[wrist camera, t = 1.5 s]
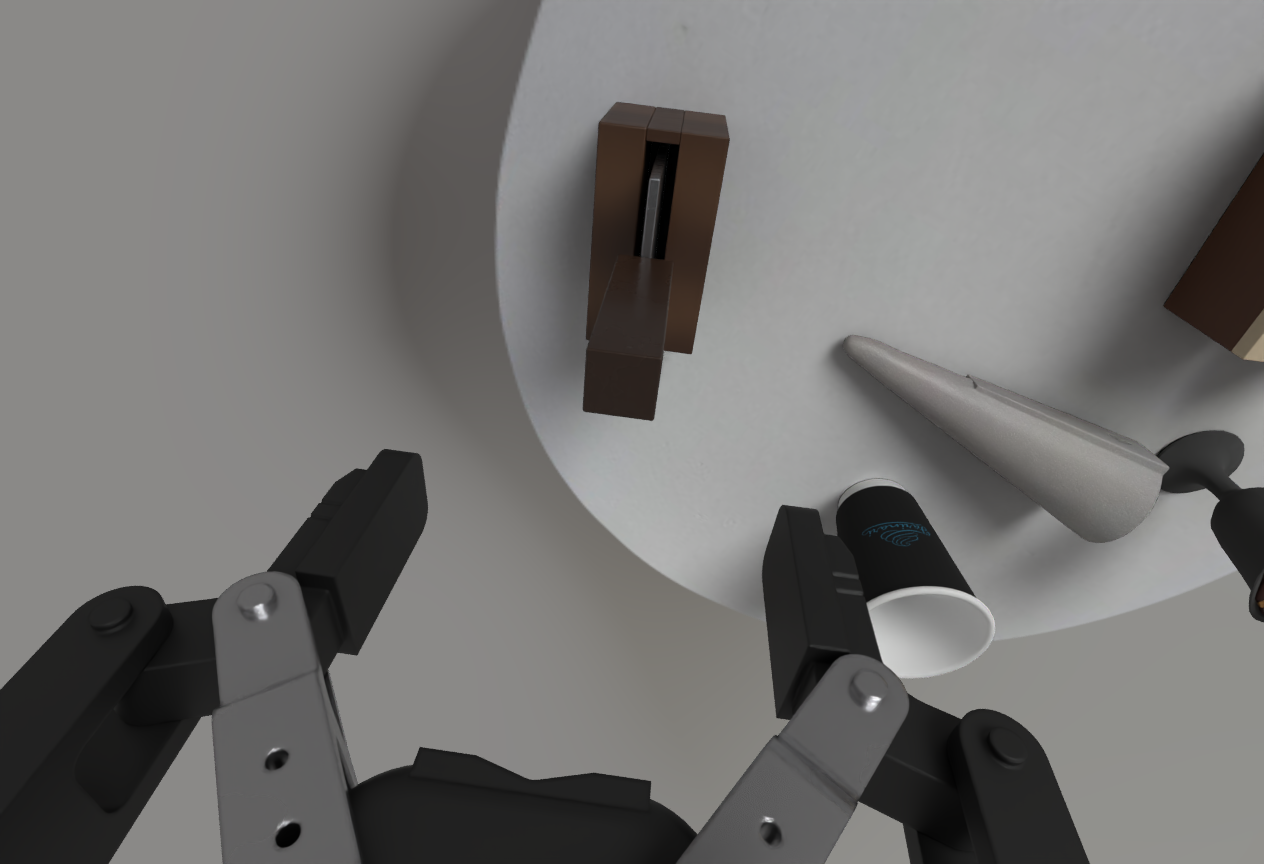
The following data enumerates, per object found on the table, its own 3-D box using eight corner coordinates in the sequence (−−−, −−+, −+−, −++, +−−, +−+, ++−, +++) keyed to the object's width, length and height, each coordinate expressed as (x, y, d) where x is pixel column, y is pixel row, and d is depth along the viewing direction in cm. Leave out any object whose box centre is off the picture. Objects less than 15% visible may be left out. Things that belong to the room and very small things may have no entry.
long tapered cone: (803, 442, 35) (1102, 562, 36) (860, 344, 32) (1186, 478, 33) (794, 402, 40) (1056, 508, 41) (843, 314, 37) (1125, 431, 38)
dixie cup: (855, 560, 46) (892, 695, 37) (792, 499, 43) (815, 629, 34) (955, 510, 42) (1023, 647, 33) (893, 440, 39) (949, 569, 30)
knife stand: (615, 101, 30) (598, 121, 25) (725, 115, 29) (730, 138, 25) (601, 293, 35) (585, 340, 31) (693, 305, 35) (691, 354, 30)
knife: (645, 128, 30) (591, 248, 16) (689, 133, 30) (677, 259, 16) (630, 281, 35) (578, 483, 20) (668, 286, 35) (643, 492, 20)
